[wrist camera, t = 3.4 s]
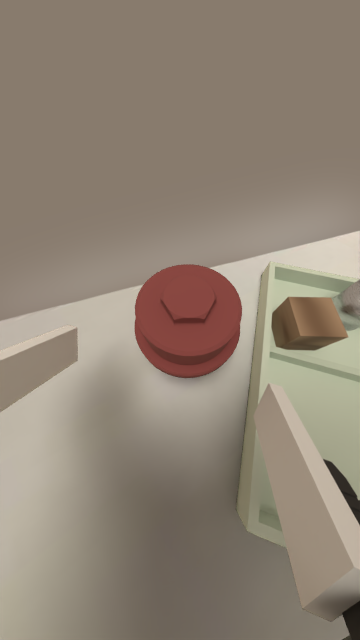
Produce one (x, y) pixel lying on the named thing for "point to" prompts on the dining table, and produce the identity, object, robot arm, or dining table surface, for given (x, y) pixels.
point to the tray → (300, 394)
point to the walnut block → (307, 324)
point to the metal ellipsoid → (349, 306)
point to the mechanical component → (187, 320)
